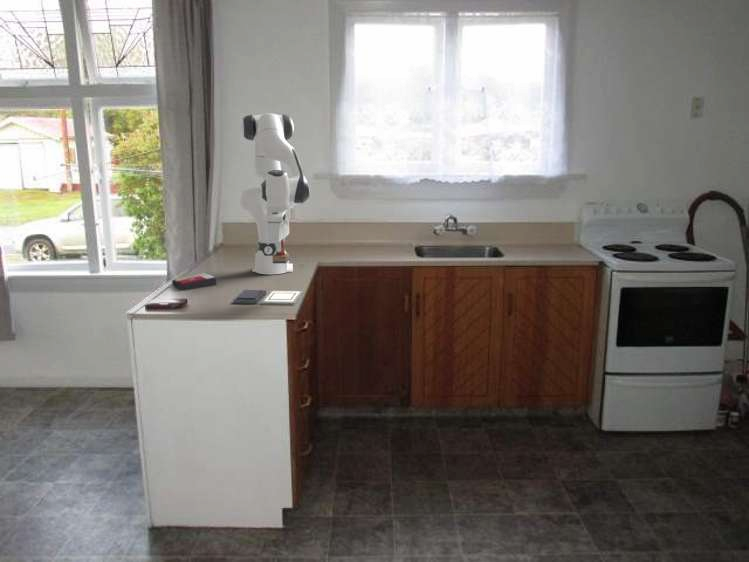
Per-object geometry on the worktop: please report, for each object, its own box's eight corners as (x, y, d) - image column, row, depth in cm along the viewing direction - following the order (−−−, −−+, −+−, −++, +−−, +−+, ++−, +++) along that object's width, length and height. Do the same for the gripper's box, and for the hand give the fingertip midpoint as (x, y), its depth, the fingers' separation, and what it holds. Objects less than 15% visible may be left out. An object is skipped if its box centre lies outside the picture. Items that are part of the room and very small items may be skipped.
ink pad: (243, 294, 246) (243, 289, 245) (266, 294, 245) (265, 289, 245) (233, 303, 232) (233, 298, 232) (257, 303, 232) (256, 298, 231)
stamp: (276, 260, 239) (275, 236, 236) (289, 260, 238) (288, 236, 236) (272, 263, 233) (271, 239, 231) (285, 263, 232) (284, 239, 230)
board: (271, 292, 248) (271, 290, 248) (303, 292, 247) (303, 290, 247) (260, 304, 231) (260, 301, 230) (294, 304, 230) (294, 302, 230)
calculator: (171, 278, 260) (204, 271, 269) (172, 288, 261) (206, 280, 270) (181, 283, 251) (215, 275, 260) (183, 293, 252) (217, 285, 262)
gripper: (276, 210, 242) (278, 245, 245) (263, 217, 222) (265, 255, 225) (292, 210, 241) (293, 245, 244) (281, 217, 221) (282, 255, 225)
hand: (280, 250), depth 235 cm, fingers closed on stamp, 3 cm apart
